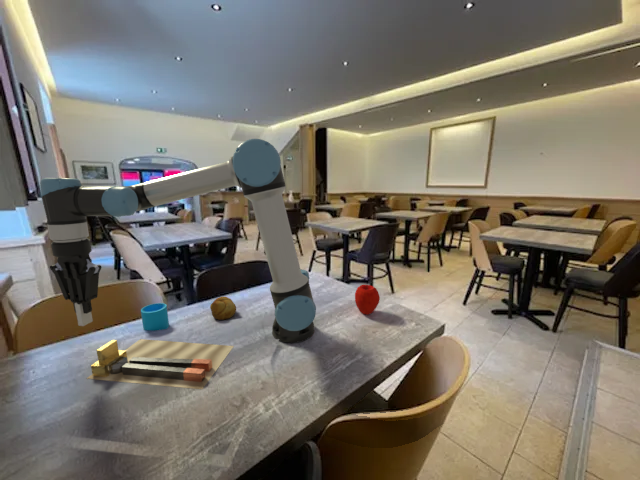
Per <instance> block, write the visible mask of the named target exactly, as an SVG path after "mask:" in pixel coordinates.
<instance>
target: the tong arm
mask: <svg viewBox="0 0 640 480" xmlns="http://www.w3.org/2000/svg"><path fill="white" fill-rule="evenodd" d="M129 363H130V364H142V365H154V366H166V367H177V368H196V369H205V371H207V372H209V371H210V370H211V368H212V360H211V359H171V358H145V357H133V358H131V359H130V360H129Z"/></svg>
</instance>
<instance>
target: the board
mask: <svg viewBox="0 0 640 480" xmlns="http://www.w3.org/2000/svg"><path fill="white" fill-rule="evenodd" d="M234 347H235V346H234V345H225V344H213V343H201V342H200V343H198V342H195V343H194V342H185V341H170V340H158V339H157V340H156V339H142V338H140V339H139V340H136V342H134V343H133V344H131V345H130V346H129V347H128V348H126V349H125V350H124V351H126V353H127V360H128V363H129V360H130V359H131V358H133V357H145V358H171V359H211V360H212V368H211V370H210V371H209V372H207V371H205V379H204V380H203V381H202V382H195V381H184V380H176V379H165V378H154V377H143V376H132V375H123V373H122V372H121V373H118V374H110V373H109V375H108V376H107V377H100V376H93V374H92V373H91V374H90V375H89V376H88V377H86V379H87V380H97V381H108V382H117V383H118V382H119V383H129V384H140V385H151V386H162V387H163V386H164V387H171V388H183V389H194V390H203V389H204V388H205V387H206V385H207V384H208V383H209V381H210V380H211V378H212V377H213V376H214V374H215V373H216V372H217V370H218V368H219V367H221V364H223V362H224V361H225V359H226V358H227V357H228V355H229V353H230V352H231V351H232V350H233V348H234ZM108 370H109V368H108Z"/></svg>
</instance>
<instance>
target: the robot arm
mask: <svg viewBox="0 0 640 480" xmlns="http://www.w3.org/2000/svg"><path fill="white" fill-rule="evenodd" d="M280 156H281V155H280V154H279V152H278V150H277V148H275V146H274V145H273V144H271V143H270V142H269V141H266V140H265V139H261V138H249V139H247V140H244V141H243V142H241V143H240V144H239V145H238V146H237V147H236V149H235V150H234V152H233V156H230V158H229V159H228V160H227V161H224V162H220V163H215V164H212V165H208V166H204V167H201V168H196V169H193V170H189V171H183V172H180V173H177V174H173V175H169V176H165V177H161V178H157V179H153V180H149V181H145V182H141V183H136V184H132V185H127V186H126V185H125V186H124V185H122V186H120V185H119V186H118V185H115V186H84V185H82V183H81V180H80V179H78V178H71V177H70V178H68V177H67V178H65V177H60V178H59V177H57V178H56V177H45V178H42V179H41V180H40V182H39V183H40V194H41V195H40V198H41V200H42V205H43V209H44V212H45V215H46V226H47V231H48V236H49V240H51V241H52V242H51V243H50V247H51V251H52V255H53V256H54V258H55V257H56V258H57V259H56V261H57V262H56V263H55V264H52V265H49V269H50V271H51V272H52V273H53V274H54V276H55V278H56V281H57V284H58V286H59V288H60V289H59V290H60V291H61V293H62V296H63V298H64V300H65V301H68V300H69V301H70V302H71V303H72V304H73V309H74V312H75V314H76V319H77V325H78V326H80V327H85V326H86V325H89V324H91V323H92V322H93V321H94V320H93V315H92V311H93V307H92V302H91V301H92V300H94V299H96V298H98V295H99V294H98V293H99V280H100V279H99V277H100V272H101V270H102V265H100V264H98V265H97V264H94V263H93V260H92V258H91V255H90V253H91V252H92V251H93V250H92V243H91V239H89V238H88V237H90V233H89V227H88V220H87V217H117V218H120V217H127V216H133V215H134V214H135V213H136V212H141V211H142V212H143V211H145V210H147V209H151V208H154V207H159V206H161V205H166V204H170V203H174V202H177V201H182V200H185V199H188V198H193V197H198V196H200V195H201V196H202V195H204V194H208V193H213V192H216V191H220V190H224V189H229V188H232V187H236V186H237V187H238V188H240V189H241V190H242V194H243V197H244V198H245V199H247V200H249V201H250V202H251V206H252V209H253V213H254V217H255V221H256V224H257V227H258V231H259V235H260V238H261V242H262V245H263V248H264V249H263V250H264V253H265V256H266V260H267V264H268V267H269V272H270V275H271V278H272V282H271V284H270V286H269V291H270V294H271V298H272V303H273V305H274V320H273V323H272V329H271V330H272V332H271V333H272V336H273V337H274V338H275V339H276V340H278V341H280V342H282V343H283V342H284V343H289V344H294V343H295V344H296V343H300V342H305V341H306V340H308V339H310V338H311V337H312V336H313V335H314V333H315V323H314V320H315V317H316V315H317V306H316V304H315V301H314V298H313V295H312V294H313V293H312V290H311V286H310V274H309V271H308V270H306V269H301V267H300V262H299V258H298V254H297V250H296V247H295V246H296V245H295V243H294V242H295V241H294V238H293V233H292V229H291V225H290V221H289V218H288V217H289V216H288V214H287V213H288V212H287V209H286V205H285V201H284V197H283V192H285V189H286V188H287V187H286V181H285V178H284V177H285V176H284V174H283V170H282V166H281V164H282V163H281V157H280Z"/></svg>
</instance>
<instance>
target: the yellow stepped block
mask: <svg viewBox="0 0 640 480" xmlns="http://www.w3.org/2000/svg"><path fill="white" fill-rule="evenodd" d="M118 345H119V344H118V340H117V339H112V340H110V341H108V342H106V343H105V344H104V345H102V346H101V347H100V348H99V347H98V349H96V355H97V361H95V362H94V363H92V364H91V365H90V368H91V375H92V374H93V376H100V377H107V376H108V375H109V370H108V366H109V365H110V364H112V363H113V362H114V361H116V360H117V359H118V358H120V357H127V353H126V351H125V350H122V349H119V346H118Z"/></svg>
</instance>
